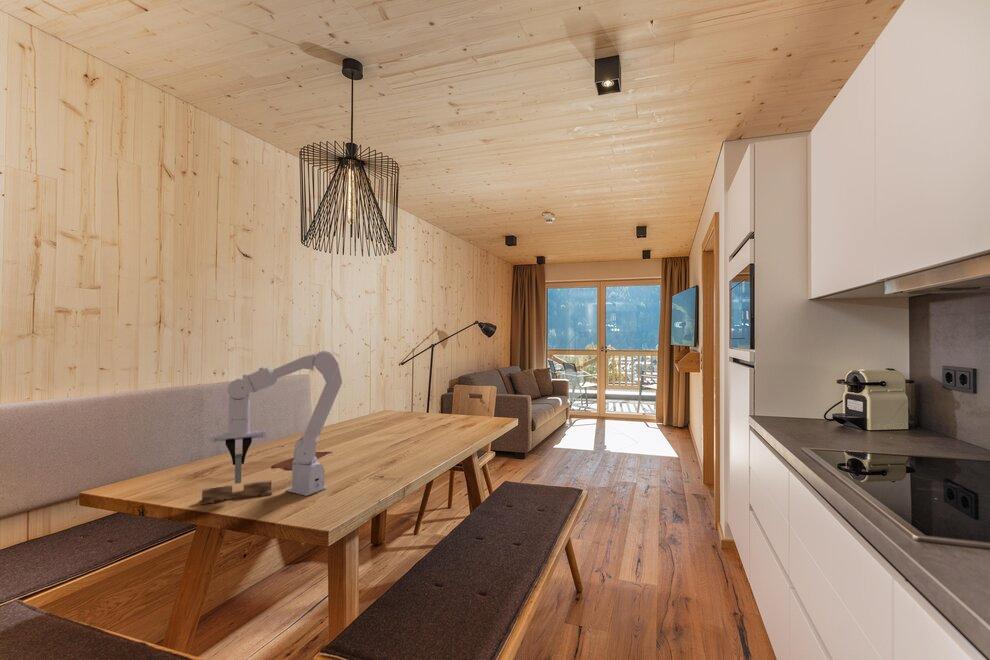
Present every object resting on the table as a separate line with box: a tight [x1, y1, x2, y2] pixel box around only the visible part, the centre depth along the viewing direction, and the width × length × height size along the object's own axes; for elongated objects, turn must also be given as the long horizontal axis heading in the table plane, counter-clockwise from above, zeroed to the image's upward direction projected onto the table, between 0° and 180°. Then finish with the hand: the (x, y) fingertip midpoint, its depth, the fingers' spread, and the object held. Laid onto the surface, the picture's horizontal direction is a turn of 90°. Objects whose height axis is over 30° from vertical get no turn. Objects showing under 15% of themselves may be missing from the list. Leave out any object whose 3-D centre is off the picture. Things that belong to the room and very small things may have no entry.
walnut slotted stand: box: [201, 479, 273, 505], centre depth 136 cm, size 18×5×4 cm, turn 119°
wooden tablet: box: [271, 451, 332, 471], centre depth 177 cm, size 27×10×2 cm, turn 164°
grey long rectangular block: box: [234, 450, 243, 484], centre depth 136 cm, size 10×2×7 cm, turn 29°
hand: (238, 463), depth 136 cm, fingers closed on grey long rectangular block, 2 cm apart
